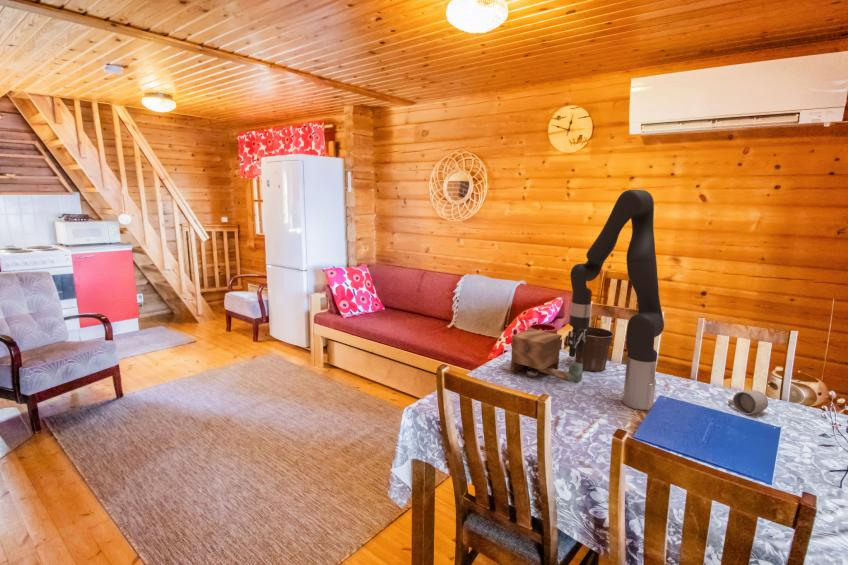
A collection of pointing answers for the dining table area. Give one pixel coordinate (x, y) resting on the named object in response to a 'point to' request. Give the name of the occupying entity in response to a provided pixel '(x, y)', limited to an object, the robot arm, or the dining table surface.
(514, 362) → the bread box
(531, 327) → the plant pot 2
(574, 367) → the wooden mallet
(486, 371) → the dining table surface
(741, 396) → the ceramic mug
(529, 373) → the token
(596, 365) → the plant pot
